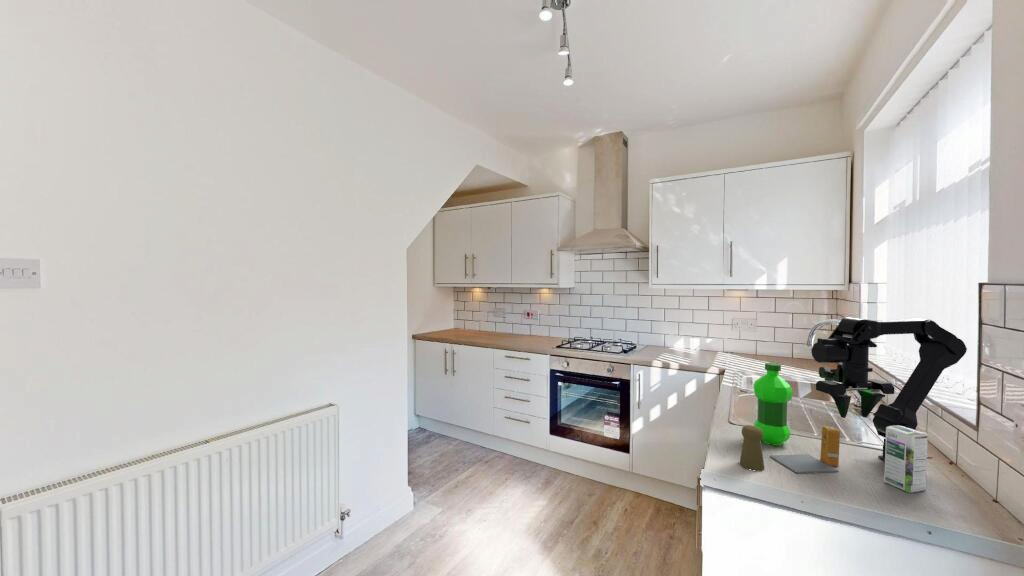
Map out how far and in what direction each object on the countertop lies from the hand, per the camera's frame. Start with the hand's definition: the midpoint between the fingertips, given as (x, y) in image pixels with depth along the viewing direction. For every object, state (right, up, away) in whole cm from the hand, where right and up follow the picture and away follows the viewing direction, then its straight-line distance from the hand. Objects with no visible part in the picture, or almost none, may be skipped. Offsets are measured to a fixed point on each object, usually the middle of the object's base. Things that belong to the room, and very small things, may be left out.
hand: (853, 417), depth 113 cm
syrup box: (+2, -14, -13) cm, 19 cm away
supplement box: (-7, -13, 0) cm, 15 cm away
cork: (-30, -13, -2) cm, 33 cm away
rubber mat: (-15, -13, -1) cm, 20 cm away
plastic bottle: (-14, -13, +14) cm, 24 cm away
